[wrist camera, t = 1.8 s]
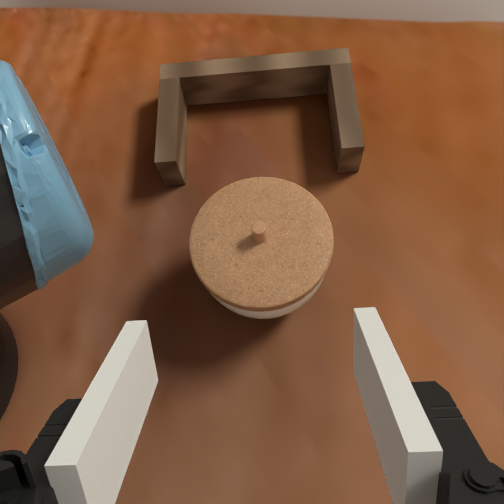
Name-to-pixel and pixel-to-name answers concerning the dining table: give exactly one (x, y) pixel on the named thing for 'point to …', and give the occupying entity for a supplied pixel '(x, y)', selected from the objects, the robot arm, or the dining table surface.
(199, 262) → the lidded jar
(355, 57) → the dining table surface
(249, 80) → the u-shaped bracket
